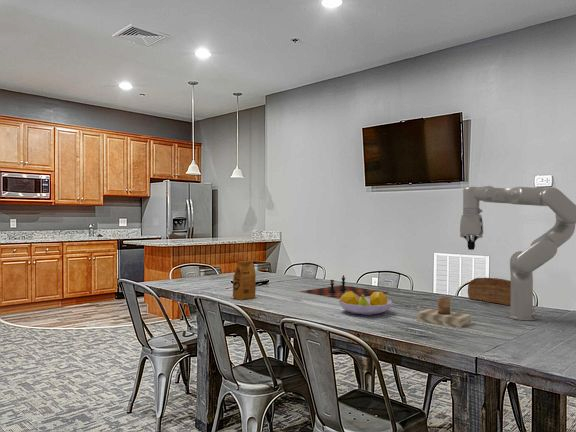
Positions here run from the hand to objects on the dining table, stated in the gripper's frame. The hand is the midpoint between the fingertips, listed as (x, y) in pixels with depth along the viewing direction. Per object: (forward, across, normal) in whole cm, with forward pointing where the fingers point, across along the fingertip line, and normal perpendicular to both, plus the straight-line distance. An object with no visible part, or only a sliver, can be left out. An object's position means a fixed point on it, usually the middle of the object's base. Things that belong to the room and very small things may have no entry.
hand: (471, 249), depth 230 cm
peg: (+32, +2, +25) cm, 41 cm away
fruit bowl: (+32, +40, +33) cm, 61 cm away
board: (+32, +2, +25) cm, 41 cm away
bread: (+32, +5, -46) cm, 56 cm away
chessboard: (+33, +87, -12) cm, 94 cm away
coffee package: (+32, +114, +47) cm, 128 cm away
